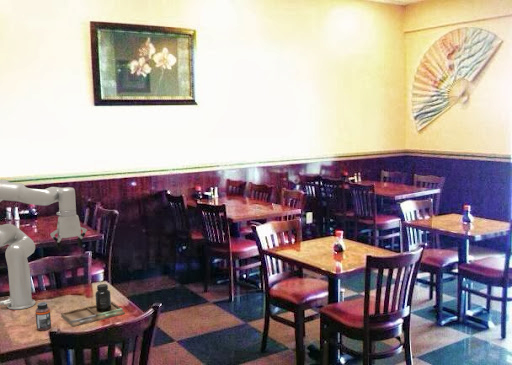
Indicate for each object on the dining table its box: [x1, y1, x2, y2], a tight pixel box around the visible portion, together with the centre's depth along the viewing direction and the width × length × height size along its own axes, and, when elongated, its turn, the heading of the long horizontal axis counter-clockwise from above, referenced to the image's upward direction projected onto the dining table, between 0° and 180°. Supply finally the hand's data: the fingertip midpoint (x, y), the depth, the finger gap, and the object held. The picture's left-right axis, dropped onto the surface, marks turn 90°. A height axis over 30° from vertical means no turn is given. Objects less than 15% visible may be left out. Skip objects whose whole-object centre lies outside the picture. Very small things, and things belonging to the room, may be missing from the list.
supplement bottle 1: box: [35, 301, 52, 331], centre depth 234 cm, size 6×6×11 cm
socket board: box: [60, 300, 126, 328], centre depth 249 cm, size 24×15×2 cm, turn 128°
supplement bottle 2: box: [94, 283, 112, 312], centre depth 253 cm, size 7×7×12 cm
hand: (69, 248), depth 260 cm, fingers open, 9 cm apart
